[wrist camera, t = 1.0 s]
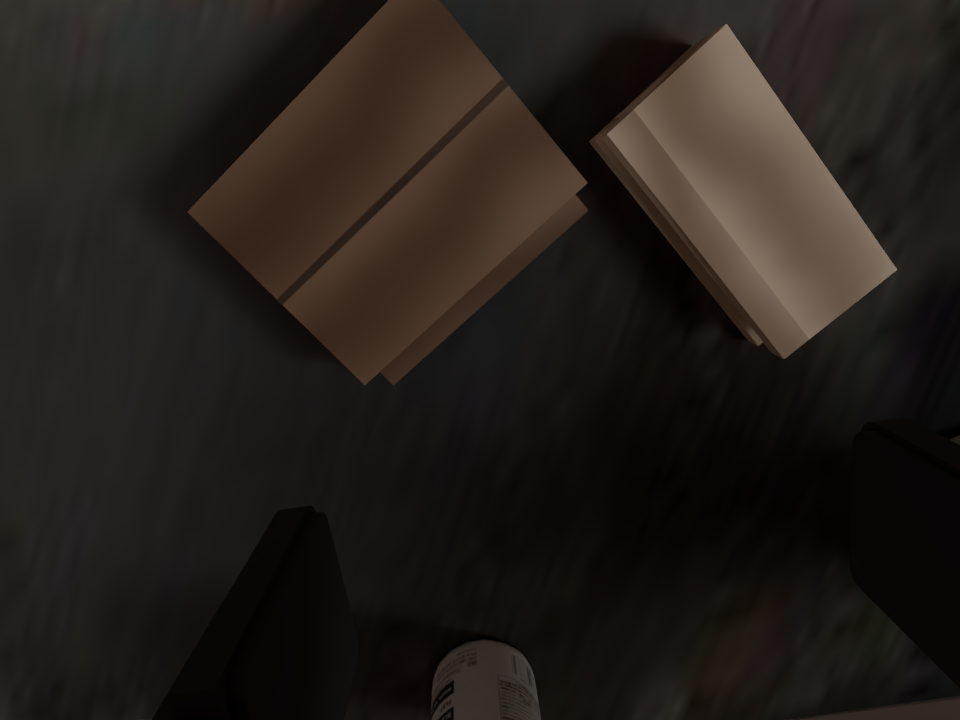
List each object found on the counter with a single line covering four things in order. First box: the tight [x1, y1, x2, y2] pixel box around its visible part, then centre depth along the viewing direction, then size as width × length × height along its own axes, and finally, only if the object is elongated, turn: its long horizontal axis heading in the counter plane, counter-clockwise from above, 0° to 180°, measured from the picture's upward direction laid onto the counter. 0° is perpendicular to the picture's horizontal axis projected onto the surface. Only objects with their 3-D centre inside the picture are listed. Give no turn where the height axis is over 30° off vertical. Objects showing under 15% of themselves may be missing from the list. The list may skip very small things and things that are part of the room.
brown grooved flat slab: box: [188, 0, 588, 386], centre depth 28 cm, size 12×14×4 cm
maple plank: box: [589, 24, 897, 359], centre depth 29 cm, size 6×14×4 cm, turn 42°
